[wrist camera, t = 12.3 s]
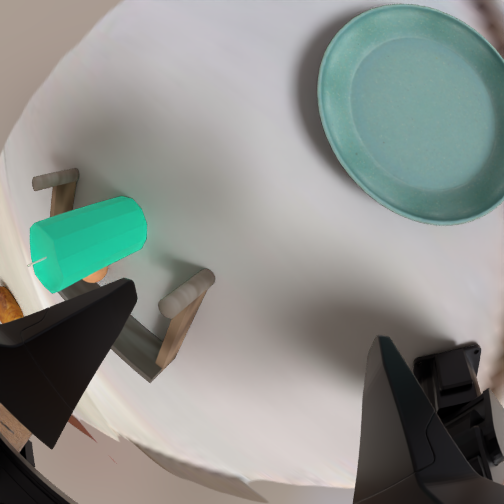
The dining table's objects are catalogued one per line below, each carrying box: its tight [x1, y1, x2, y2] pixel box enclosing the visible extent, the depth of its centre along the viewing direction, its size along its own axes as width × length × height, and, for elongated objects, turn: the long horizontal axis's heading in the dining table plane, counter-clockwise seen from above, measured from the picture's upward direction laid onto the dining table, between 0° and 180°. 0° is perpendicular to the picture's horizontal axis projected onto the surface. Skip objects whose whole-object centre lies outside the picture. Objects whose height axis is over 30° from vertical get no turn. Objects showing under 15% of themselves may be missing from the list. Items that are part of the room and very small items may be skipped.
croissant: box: [0, 287, 23, 324], centre depth 56 cm, size 14×16×8 cm
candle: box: [27, 196, 147, 294], centre depth 22 cm, size 6×6×12 cm
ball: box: [83, 266, 108, 283], centre depth 29 cm, size 4×4×4 cm
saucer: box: [317, 4, 504, 226], centre depth 13 cm, size 15×15×3 cm
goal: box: [32, 168, 215, 383], centre depth 27 cm, size 14×23×6 cm, turn 62°
